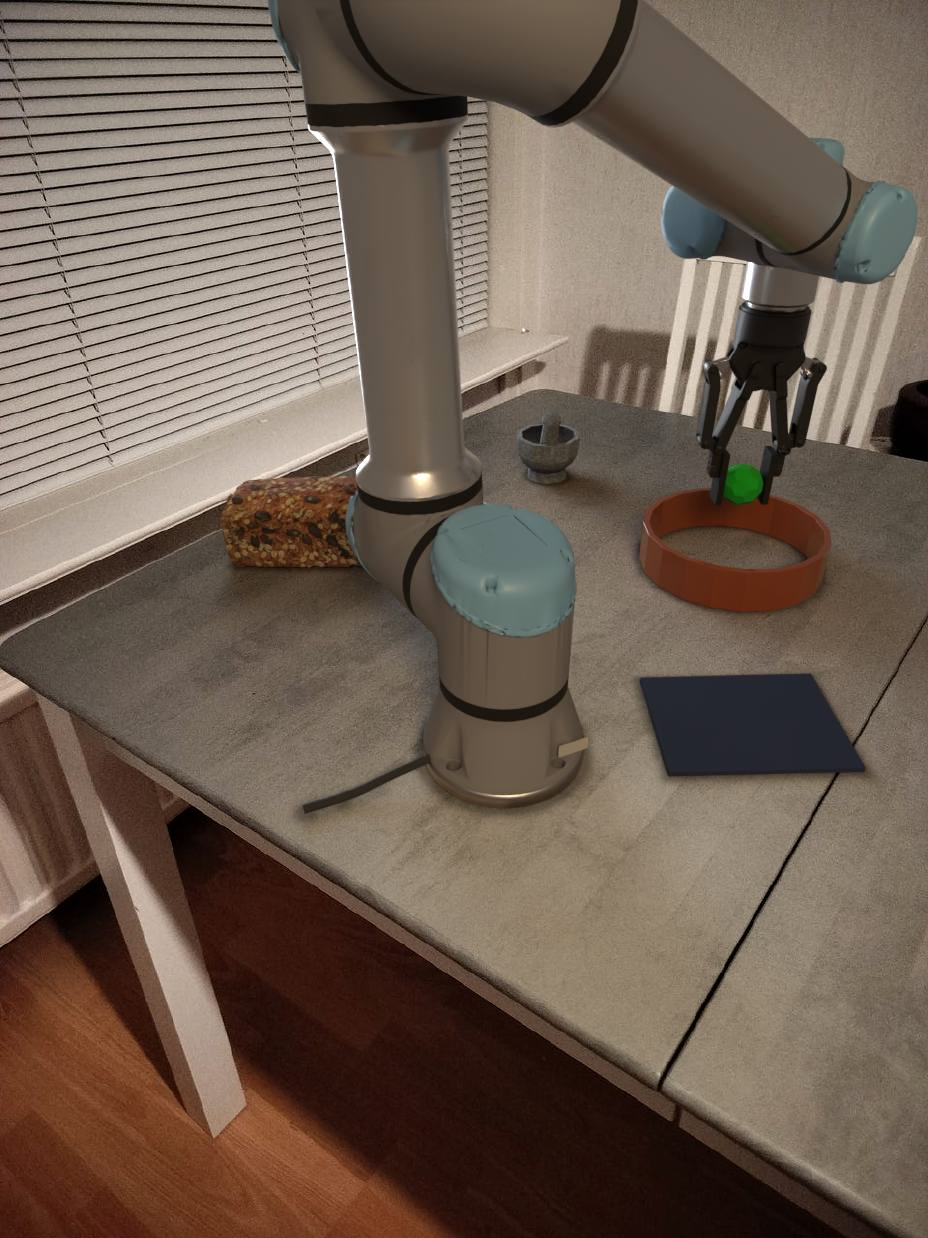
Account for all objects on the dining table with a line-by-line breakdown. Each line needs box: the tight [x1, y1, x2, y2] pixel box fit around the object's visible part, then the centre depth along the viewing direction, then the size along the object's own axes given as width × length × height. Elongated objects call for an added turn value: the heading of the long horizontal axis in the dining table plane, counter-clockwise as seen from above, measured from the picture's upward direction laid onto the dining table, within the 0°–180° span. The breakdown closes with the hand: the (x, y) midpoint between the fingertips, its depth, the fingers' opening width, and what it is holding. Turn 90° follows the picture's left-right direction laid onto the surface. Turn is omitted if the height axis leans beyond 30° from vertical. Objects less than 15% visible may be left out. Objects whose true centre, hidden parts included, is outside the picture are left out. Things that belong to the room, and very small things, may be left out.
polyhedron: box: [723, 463, 763, 505], centre depth 101 cm, size 5×5×5 cm
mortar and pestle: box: [516, 411, 581, 485], centre depth 127 cm, size 11×9×12 cm
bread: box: [220, 475, 362, 568], centre depth 109 cm, size 19×11×10 cm, turn 85°
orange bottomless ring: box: [638, 487, 833, 613], centre depth 105 cm, size 23×23×6 cm
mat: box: [639, 672, 867, 777], centre depth 81 cm, size 18×14×1 cm
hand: (738, 499), depth 102 cm, fingers closed on polyhedron, 5 cm apart
